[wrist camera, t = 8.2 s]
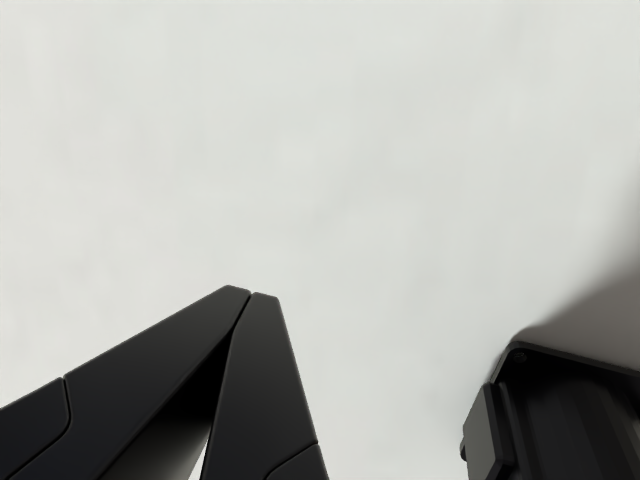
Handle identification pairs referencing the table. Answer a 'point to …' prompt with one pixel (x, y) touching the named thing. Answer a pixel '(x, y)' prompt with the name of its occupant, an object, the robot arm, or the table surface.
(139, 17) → the table surface
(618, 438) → the robot arm
